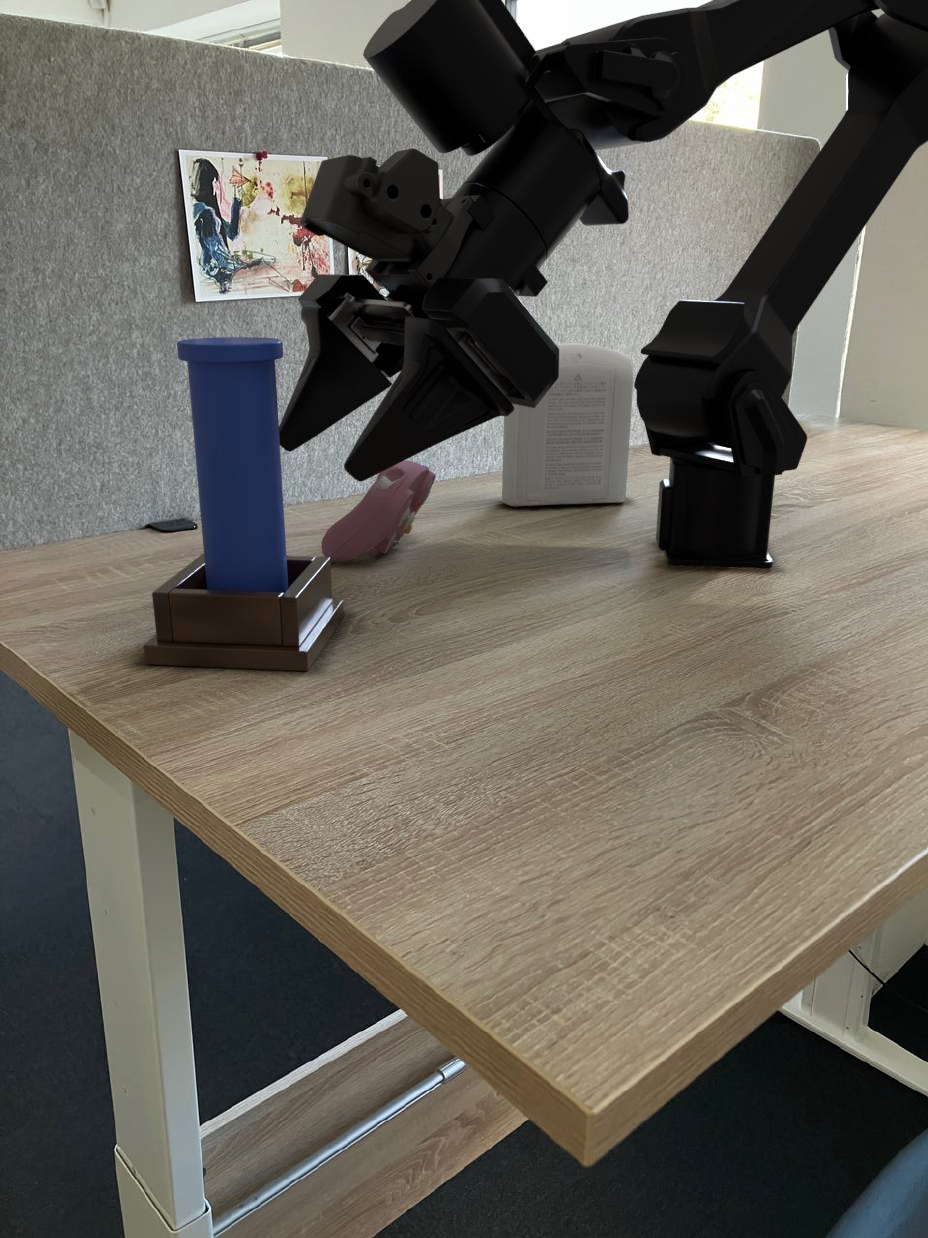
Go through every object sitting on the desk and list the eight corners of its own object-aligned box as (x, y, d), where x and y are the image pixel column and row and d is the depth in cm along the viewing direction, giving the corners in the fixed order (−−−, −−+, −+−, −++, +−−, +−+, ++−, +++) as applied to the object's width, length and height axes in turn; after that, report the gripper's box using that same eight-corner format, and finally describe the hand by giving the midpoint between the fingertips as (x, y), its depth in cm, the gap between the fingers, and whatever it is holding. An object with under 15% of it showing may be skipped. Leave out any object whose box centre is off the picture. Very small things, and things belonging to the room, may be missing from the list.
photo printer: (615, 493, 85) (622, 340, 81) (634, 504, 81) (643, 344, 77) (495, 499, 83) (497, 342, 79) (509, 511, 79) (512, 346, 75)
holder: (344, 616, 56) (342, 554, 55) (307, 671, 48) (303, 601, 47) (202, 611, 57) (197, 550, 55) (144, 664, 49) (137, 595, 48)
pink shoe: (374, 590, 65) (421, 495, 63) (312, 555, 65) (356, 459, 63) (412, 549, 74) (455, 466, 72) (357, 519, 74) (398, 434, 72)
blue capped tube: (317, 616, 53) (303, 339, 48) (252, 643, 49) (231, 346, 44) (248, 600, 55) (229, 335, 51) (181, 625, 51) (154, 341, 47)
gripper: (323, 118, 56) (141, 335, 54) (505, 63, 41) (258, 364, 39) (451, 269, 62) (290, 467, 61) (649, 271, 47) (441, 537, 45)
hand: (313, 459), depth 51 cm, fingers open, 9 cm apart
